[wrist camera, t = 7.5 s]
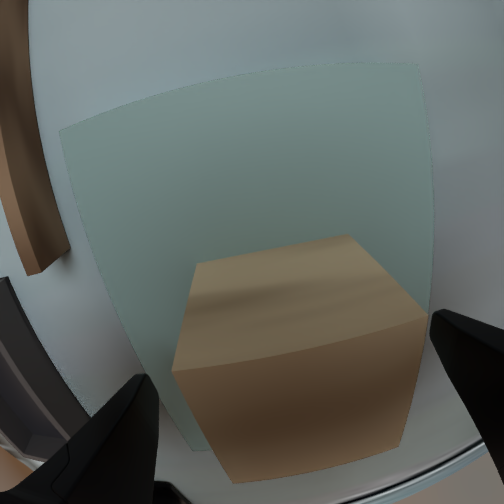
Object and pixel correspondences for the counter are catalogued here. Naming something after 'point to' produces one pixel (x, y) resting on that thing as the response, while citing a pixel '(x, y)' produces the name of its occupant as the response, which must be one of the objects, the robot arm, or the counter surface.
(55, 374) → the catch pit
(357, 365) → the beech cube
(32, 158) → the cubby
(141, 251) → the platform
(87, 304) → the counter surface
